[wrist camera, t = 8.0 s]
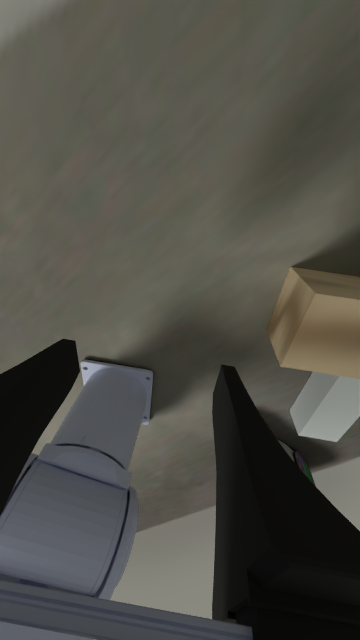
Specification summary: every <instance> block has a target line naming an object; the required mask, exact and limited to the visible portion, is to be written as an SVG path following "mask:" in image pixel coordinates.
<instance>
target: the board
mask: <svg viewBox="0 0 360 640" xmlns="http://www.w3.org/2000/svg"><path fill="white" fill-rule="evenodd" d="M290 413H291V416H292V419H293V422H294V425H295V428H296V430H297V433H298V435H299V436H305V437H311V438H317V439H323V440H329V441H335V442H337V441H338V440H339V439H340V438H341V437H342V435H343V434H344V433H345V432H346V431H347V430H348V429H349V428H350V426H351V425H352V424H353V423H354V422H355V421H356V420H357V419H358V417H359V416H360V379H356V378H350V377H343V376H337V375H331V374H324V373H318V372H313V373H312V374H311V376H310V378H309V379H308V381H307V382H306V384H305V386H304V387H303V389H302V391H301V392H300V394H299V396H298V397H297V399H296V401H295V402H294V404H293V406H292V407H291V409H290Z"/></svg>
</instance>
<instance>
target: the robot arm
mask: <svg viewBox="0 0 360 640" xmlns="http://www.w3.org/2000/svg"><path fill="white" fill-rule="evenodd" d="M81 370H82V376H83V383H84V387H83V389H82V390H81V392H80V394H79V396H78V397H77V399H76V401H75V402H74V404H73V406H72V407H71V409H70V411H69V412H68V414H67V416H66V417H65V419H64V421H63V422H62V424H61V426H60V428H59V429H58V431H57V433H56V434H55V436H54V438H53V439H52V441H51V443H50V444H48V443H47V444H46V445H45V446H44V448H43V449H42V451H41V453H40V454H39V456H38V455H36V454H33V453H32V451H33V449H34V447H35V445H36V443H37V441H38V440H39V438H40V436H41V435H42V433H43V431H44V430H45V428H46V427H47V425H48V424H49V422H50V421H51V419H52V418H53V416H54V415H55V413H56V412H57V410H58V409H59V407H60V406H61V404H62V403H63V401H64V400H65V398H66V397H67V395H68V393H69V392H70V390H71V389H72V387H73V385H74V383H75V381H76V378H77V376H78V374H79V372H80V368H79V362H78V355H77V349H76V342H75V341H73V340H67V339H62V340H60V341H58V342H56V343H55V344H53V345H51V346H50V347H48V348H46V349H44V350H43V351H41V352H39V353H38V354H36V355H34V356H33V357H31V358H29V359H27V360H26V361H24V362H22V363H20V364H19V365H17V366H15V367H13V368H11V369H9V370H8V371H6V372H4V373H2V374H0V640H94V639H96V640H360V531H359V530H358V529H357V528H356V527H355V526H354V525H353V524H352V523H351V522H349V520H348V519H347V518H345V517H344V516H343V515H342V514H341V513H340V512H339V511H338V510H337V509H336V508H335V507H334V506H333V505H332V504H331V502H330V501H329V500H328V499H327V498H326V497H325V496H324V495H323V494H322V493H321V492H320V491H319V490H318V489H317V488H316V486H315V485H314V484H313V483H312V482H311V481H310V480H309V478H308V477H307V476H306V475H305V474H304V473H303V471H302V470H301V469H300V468H299V467H298V466H297V464H296V463H295V462H294V461H293V460H292V458H291V457H290V456H289V455H288V453H287V452H286V451H285V449H284V448H283V447H282V445H281V444H280V443H279V441H278V440H277V439H276V437H275V436H274V434H273V433H272V432H271V430H270V429H269V427H268V426H267V424H266V423H265V421H264V419H263V418H262V416H261V415H260V413H259V411H258V410H257V408H256V406H255V405H254V403H253V401H252V399H251V398H250V396H249V394H248V392H247V390H246V389H245V387H244V385H243V383H242V381H241V379H240V377H239V375H238V372H237V370H236V368H235V367H233V366H226V365H221V369H220V372H219V375H218V379H217V382H216V385H215V389H214V392H213V410H212V415H213V428H214V441H215V454H216V471H217V480H216V535H215V561H214V583H213V585H214V586H213V602H212V619H207V618H202V617H197V616H191V615H186V614H180V613H175V612H169V611H164V610H159V609H154V608H148V607H143V606H137V605H132V604H127V603H122V602H116V601H111V600H110V598H111V596H112V594H113V591H114V589H115V588H116V586H117V585H118V583H119V581H120V579H121V577H122V575H123V573H124V570H125V567H126V565H127V562H128V559H129V555H130V553H131V549H132V545H133V541H134V538H135V533H136V528H137V523H138V515H139V501H138V498H137V494H136V490H135V489H134V488H133V487H130V486H129V485H130V481H131V477H132V473H131V472H129V471H128V468H129V464H130V461H131V457H132V453H133V450H134V446H135V442H136V439H137V435H138V431H139V428H140V424H144V425H147V424H149V419H150V407H151V396H152V384H153V372H152V371H151V370H146V369H140V368H134V367H128V366H122V365H116V364H110V363H104V362H97V361H91V360H83V361H82V362H81ZM148 377H149V378H148Z"/></svg>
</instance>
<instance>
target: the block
mask: <svg viewBox="0 0 360 640" xmlns="http://www.w3.org/2000/svg"><path fill="white" fill-rule="evenodd" d="M266 330H267V333H268V336H269V338H270V341H271V343H272V346H273V349H274V351H275V354H276V356H277V359H278V362H279V364H280V367H286V368H293V369H299V370H305V371H312V372H318V373H324V374H331V375H337V376H343V377H350V378H356V379H360V277H357V276H350V275H344V274H337V273H330V272H323V271H316V270H309V269H303V268H296V267H290V270H289V272H288V275H287V277H286V280H285V282H284V285H283V288H282V290H281V293H280V295H279V298H278V300H277V303H276V306H275V308H274V311H273V313H272V316H271V318H270V321H269V324H268V326H267V329H266Z"/></svg>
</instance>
